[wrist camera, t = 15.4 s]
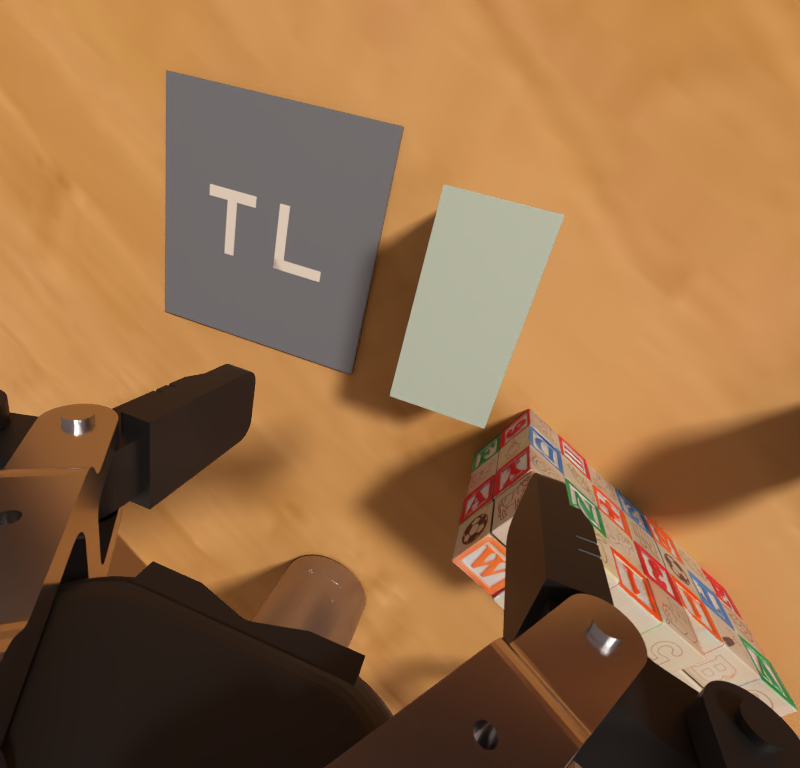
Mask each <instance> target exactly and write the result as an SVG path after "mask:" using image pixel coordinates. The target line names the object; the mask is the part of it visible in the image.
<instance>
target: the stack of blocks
mask: <svg viewBox="0 0 800 768" xmlns="http://www.w3.org/2000/svg"><path fill="white" fill-rule="evenodd" d="M534 473H539V474H541V475H544V476H547V477H550V478H553V479H556V480H559V481H561V482H564V483H565V484H566V489H567V494H568V499H569V504H570V505H571V506H573V507H576V508H579V509H581V510H582V511H583V513H584V514H585V516H586V517H587V518H588V520H589V521H590V522H591V524H592V525H593V528H594V531H595V535H596V539H597V545H598V546H599V550H600V554H601V557H600V559H602V562H603V565H604V569H605V573H606V577H607V581H608V584H609V588H610V592H611V596H612V600H613V603H614V607H616V608H617V609H618V610H620V611H621V612H622V613H623V614H624V615H625V616H626V617H627V618H628V619H629V620H630V621H631V622H632V623H633V624H634V626H635V627H636V628H637V630H638V631H639V633H640V634H641V636H642V638H643V640H644V642H645V645H646V648H647V655H648V657H649V658H650V659H651V660H652V661H653V662H655V663H656V664H658V665H659V666H660V667H662V668H663V669H665V670H666V671H668V672H669V673H671V674H672V675H674V676H675V677H677V678H678V679H680V680H681V681H683V682H684V683H686V684H687V685H689V686H690V687H692V688H693V689H695V690H696V691H698V692H699V693H700V691H701V690H702V689H703V688H704V687H705V686H706V685H707V684H708V683H709V682H711V681H715V680H722V681H726V682H730V683H733V684H735V685H738V686H740V687H741V688H743V689H745V690H747V691H749V692H750V693H752V694H753V695H755V696H756V697H758V698H759V699H760V700H762V701H763V702H764V703H766V704H767V705H768V706H769V707H770V708H772V709H773V710H774V711H775V712H776V713H777V714H778V715H779V716H780V717H781V716H784V715H787V714H790V713H793V712H797V708H796V706H795V704H794V702H793V700H792V699H791V697H790V695H789V693H788V692H787V690H786V688H785V687H784V685H783V683H782V681H781V680H780V678H779V676H778V675H777V673H776V671H775V669H774V668H773V666H772V665H771V663H770V662H769V661H768V660H767V659H766V658H765V656H764V654H763V652H762V651H761V649H760V647H759V645H758V644H757V642H756V640H755V638H754V637H753V635H752V633H751V631H750V630H749V628H748V626H747V625H746V623H745V622H744V621H743V619H742V618H741V616H740V614H739V612H738V610H737V608H736V606H735V605H734V603H733V601H732V600H731V598H730V596H729V595H728V593H727V591H726V590H725V589H724V588H723V587H722V586H721V585H720V584H719V583H717V582H716V581H715V580H714V579H713V578H712V577H711V576H710V575H708V574H707V573H706V572H705V571H704V570H703V569H702V568H701V567H700V566H699V564H698V563H697V562H696V561H695V560H694V559H693V558H691V557H690V556H689V555H688V554H687V553H686V552H685V551H684V550H683V549H682V548H681V547H679V546H678V545H677V544H676V543H675V542H674V541H672V540H671V539H670V537H669V536H668V535H667V534H666V533H664V532H663V531H662V530H661V529H660V528H659V527H658V526H657V525H656V524H655V523H654V522H653V521H652V520H650V519H649V518H648V517H647V516H646V515H645V514H642V513H641V512H640V511H639V510H638V509H637V508H636V507H635V506H634V505H633V504H632V503H631V502H629V501H628V500H627V499H626V498H625V497H624V496H623V495H622V494H621V493H620V492H619V491H618V490H617V489H615V488H613V486H612V485H611V484H610V483H609V482H607V481H606V480H605V479H604V478H603V477H602V476H601V475H600V474H599V473H598V472H597V471H595V470H594V469H593V468H592V467H591V466H590V465H589V464H588V463H587V462H586V460H585V459H584V458H583V457H582V456H581V455H579V454H578V453H577V452H576V451H575V450H574V449H573V448H572V447H571V446H570V445H569V444H568V443H567V442H565V441H564V440H563V439H562V438H561V437H560V436H559V435H558V434H557V433H556V432H555V431H554V430H553V429H552V428H551V427H550V426H549V425H548V424H547V423H546V422H544V421H543V420H542V419H541V418H540V417H539V416H538V415H537V414H536V413H535V412H534V411H533V410H531V409H528V410H527V411H526V412H524V413H523V414H522V415H521V416H520V417H519V418H517V419H516V420H515V421H514V422H513V423H511V424H510V425H509V426H508V427H507V428H506V429H504V430H503V431H502V432H501V434H499V435H498V436H497V437H496V438H495V439H493V440H492V441H491V442H490V443H489V444H487V445H486V446H485V447H484V448H483V449H481V450H480V451H479V452H478V453H477V454H475V457H474V461H473V465H472V470H471V477H470V481H469V485H468V489H467V494H466V498H465V500H464V504H463V509H462V513H461V518H460V521H459V531H458V535H457V540H456V544H455V548H454V552H453V557H452V562H453V563H455V564H456V565H457V566H458V567H459V568H460V569H461V570H462V571H464V572H465V573H466V574H467V575H468V576H469V577H470V578H472V579H473V580H474V581H475V582H476V583H477V584H478V585H479V586H481V587H482V588H483V589H484V590H485V591H486V592H487V593H488V594H490V595H492V598H493V600H494V602H495V603H497V604H498V605H499V606H500V607H501V608H502V609H503V610H504V597H505V565H506V540H507V534H508V530H509V527H510V523H511V521H512V518H513V516H514V514H515V512H516V509H517V507H518V505H519V503H520V500H521V498H522V496H523V494H524V492H525V489H526V487H527V485H528V483H529V481H530V478H531V477H532V475H533V474H534Z"/></svg>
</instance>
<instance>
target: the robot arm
mask: <svg viewBox="0 0 800 768" xmlns="http://www.w3.org/2000/svg"><path fill="white" fill-rule="evenodd" d="M254 391H255V375H254V374H253V373H252V372H250V371H247V370H244V369H242V368H239V367H236V366H233V365H230V364H225V365H223V366H220V367H218V368H216V369H214V370H211V371H209V372H207V373H205V374H199V375H194V376H188V377H184V378H182V379H179V380H177V381H175V382H172V383H170V384H169V386H167V385H166V386H163V387H161V388H159V389H157V390H156V392H155V391H152V392H150V393H147V394H145V395H143V396H140V397H138V398H136V399H134V400H131V401H129V402H127V403H124V404H122V405H120V406H117V407H115V408H113V409H110V408H108V407H105V406H101V405H96V404H73V405H66V406H62V407H58V408H54V409H52V410H49V411H47V412H45V413H43V414H42V415H41V416H39V417H36V416H29V415H23V414H16V413H10V412H9V406H8V399H7V395H6V393H5V392H3V391H2V390H0V768H568V767H569V765H570V764H571V763H572V762H573V760H574V761H575V762H576V763H577V764H578V765H580V766H581V767H582V768H800V739H799V738H798V737H797V735H796V734H795V733H794V731H793V730H792V729H791V728H790V727H789V725H788V724H787V723H786V722H785V721H784V720H783V719H782V718H781V717H780V716H779V715H778V714H777V713H776V712H775V711H774V710H773V709H772V708H770V707H769V706H768V705H767V704H766V703H764V702H763V701H762V700H760V699H759V698H758V697H756V696H755V695H753V694H752V693H750V692H749V691H747V690H745V689H743V688H741V687H740V686H738V685H735V684H733V683H730V682H726V681H722V680H715V681H711V682H709V683H708V684H707V685H706V686H705V687H704V688H703V689H702V690H701V691H700V693H699V692H698V691H696V690H695V689H693V688H692V687H690V686H689V685H687V684H686V683H684V682H683V681H681V680H680V679H678V678H677V677H675V676H674V675H672V674H671V673H669V672H668V671H666V670H665V669H663V668H662V667H660V666H659V665H658V664H656V663H655V662H653V661H652V660H651V659H650V658H649V657H648V655H647V648H646V645H645V642H644V640H643V638H642V636H641V634H640V633H639V631H638V630H637V628H636V627H635V626H634V624H633V623H632V622H631V621H630V620H629V619H628V618H627V617H626V616H625V615H624V614H623V613H622V612H621V611H620V610H618V609H617V608H616V607H614V603H613V600H612V596H611V592H610V588H609V584H608V581H607V577H606V573H605V569H604V565H603V562H602V559H600V557H601V554H600V550H599V546H598V545H597V539H596V535H595V531H594V528H593V525H592V524H591V522H590V521H589V520H588V518H587V517H586V516H585V514H584V513H583V511H582V510H581V509H579V508H576V507H573V506H571V505H570V504H569V499H568V494H567V489H566V484H565V483H564V482H561V481H559V480H556V479H553V478H550V477H547V476H544V475H541V474H539V473H534V474H533V475H532V477H531V478H530V481H529V483H528V485H527V487H526V489H525V492H524V494H523V496H522V498H521V500H520V503H519V505H518V507H517V509H516V512H515V514H514V516H513V518H512V521H511V523H510V527H509V530H508V534H507V540H506V565H505V597H504V629H503V638H499V639H497V640H495V641H493V642H492V643H490V644H489V645H488V646H486V647H485V648H484V649H482V650H481V651H480V652H478V653H477V654H476V655H474V656H473V657H472V658H470V659H469V660H467V661H466V662H465V663H463V664H462V665H461V666H459V667H458V668H457V669H455V670H454V671H453V672H451V673H450V674H449V675H447V676H446V677H445V678H443V679H442V680H441V681H439V682H438V683H437V684H435V685H434V686H433V687H431V688H430V689H429V690H427V691H426V692H425V693H423V694H422V695H421V696H419V697H418V698H417V699H415V700H414V701H413V702H411V703H410V704H409V705H407V706H406V707H405V708H403V709H402V710H401V711H399V712H398V713H397V714H395V715H394V716H393V715H392V713H391V711H390V710H389V709H388V707H387V706H386V705H385V703H384V702H383V700H382V699H381V698H380V697H379V696H378V695H377V693H376V692H375V691H374V690H373V689H372V688H371V687H370V686H369V685H368V684H367V683H366V682H365V681H363V680H362V679H361V678H360V677H359V673H360V670H361V667H362V664H363V661H364V658H365V655H362V654H360V653H358V652H356V651H353V650H351V649H349V648H348V647H349V645H350V642H351V640H352V638H353V635H354V633H355V630H356V628H357V625H358V623H359V620H360V618H361V615H362V613H363V610H364V607H365V594H364V590H363V588H362V586H361V584H360V582H359V581H358V580H357V578H356V577H355V576H354V575H353V574H352V573H351V572H350V571H349V570H348V569H347V568H345V567H344V566H343V565H341V564H339V563H337V562H336V561H334V560H331V559H328V558H325V557H321V556H315V555H313V556H304V557H300V558H298V559H296V560H294V561H293V562H292V563H291V564H290V565H289V567H288V568H287V570H286V571H285V572H284V574H283V575H282V577H281V578H280V580H279V581H278V583H277V584H276V586H275V587H274V589H273V590H272V592H271V593H270V594H269V596H268V597H267V599H266V600H265V602H264V603H263V604H262V606H261V607H260V609H259V610H258V612H257V613H256V615H255V616H254V618H253V619H252V621H247V620H245V619H243V618H242V617H240V616H239V615H238V614H237V613H236V612H235V611H233V610H232V609H231V608H230V607H229V606H228V605H226V604H225V603H224V602H223V601H222V600H221V599H220V598H218V597H217V596H216V595H215V594H214V593H213V592H211V591H210V590H209V589H208V588H207V587H206V586H205V585H203V584H202V583H200V582H198V581H196V580H194V579H191V578H189V577H187V576H185V575H182V574H180V573H178V572H176V571H174V570H171V569H169V568H167V567H165V566H162V565H160V564H158V563H156V562H152V563H151V564H149V565H148V566H147V567H146V568H145V569H144V570H143V571H142V572H141V573H140V574H138V575H137V576H136V577H122V576H110V577H107V572H108V569H109V565H110V561H111V557H112V553H113V549H114V545H115V541H116V537H117V534H118V530H119V526H120V522H121V518H122V506H123V505H125V504H126V503H127V502H129V501H131V502H134V503H136V504H138V505H141V506H143V507H145V508H148V509H151V508H152V507H154V506H155V505H156V504H158V503H159V502H160V501H162V500H163V499H164V498H166V497H167V496H168V495H169V494H171V493H172V492H173V491H175V490H176V489H177V488H179V487H180V486H181V485H183V484H184V483H185V482H187V481H188V480H189V479H191V478H192V477H193V476H195V475H196V474H197V473H199V472H200V471H201V470H203V469H204V468H205V467H207V466H208V465H209V464H210V463H212V462H213V461H214V460H216V459H217V458H218V457H220V456H221V455H222V454H224V453H225V452H226V451H228V450H229V449H230V448H232V447H233V446H234V445H236V444H237V443H238V442H240V441H241V440H242V439H243V438H244V436H245V435H246V433H247V431H248V429H249V427H250V423H251V417H252V408H253V399H254Z"/></svg>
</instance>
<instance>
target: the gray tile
mask: <svg viewBox="0 0 800 768" xmlns="http://www.w3.org/2000/svg"><path fill="white" fill-rule="evenodd" d="M403 129H404V127H403V126H399V125H394V124H390V123H386V122H382V121H378V120H373V119H369V118H365V117H361V116H357V115H352V114H348V113H344V112H340V111H336V110H331V109H327V108H323V107H319V106H315V105H310V104H306V103H302V102H298V101H294V100H289V99H285V98H281V97H277V96H272V95H268V94H264V93H260V92H256V91H251V90H247V89H243V88H239V87H235V86H230V85H226V84H222V83H218V82H214V81H209V80H205V79H201V78H197V77H193V76H188V75H184V74H180V73H176V72H172V71H167V70H166V229H165V311H166V312H169V313H172V314H175V315H178V316H181V317H184V318H187V319H189V320H192V321H195V322H198V323H201V324H204V325H207V326H210V327H213V328H216V329H219V330H222V331H225V332H228V333H230V334H233V335H236V336H239V337H242V338H245V339H248V340H251V341H254V342H257V343H260V344H263V345H266V346H269V347H271V348H274V349H277V350H280V351H283V352H286V353H289V354H292V355H295V356H298V357H301V358H304V359H307V360H310V361H313V362H315V363H318V364H321V365H324V366H327V367H330V368H333V369H336V370H339V371H342V372H345V373H348V374H352V372H353V367H354V362H355V358H356V353H357V348H358V343H359V339H360V334H361V329H362V324H363V320H364V315H365V310H366V305H367V301H368V296H369V291H370V286H371V281H372V277H373V272H374V267H375V262H376V258H377V253H378V248H379V243H380V239H381V234H382V229H383V224H384V220H385V215H386V210H387V205H388V200H389V196H390V191H391V186H392V181H393V177H394V172H395V167H396V162H397V158H398V153H399V148H400V143H401V138H402V134H403Z"/></svg>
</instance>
